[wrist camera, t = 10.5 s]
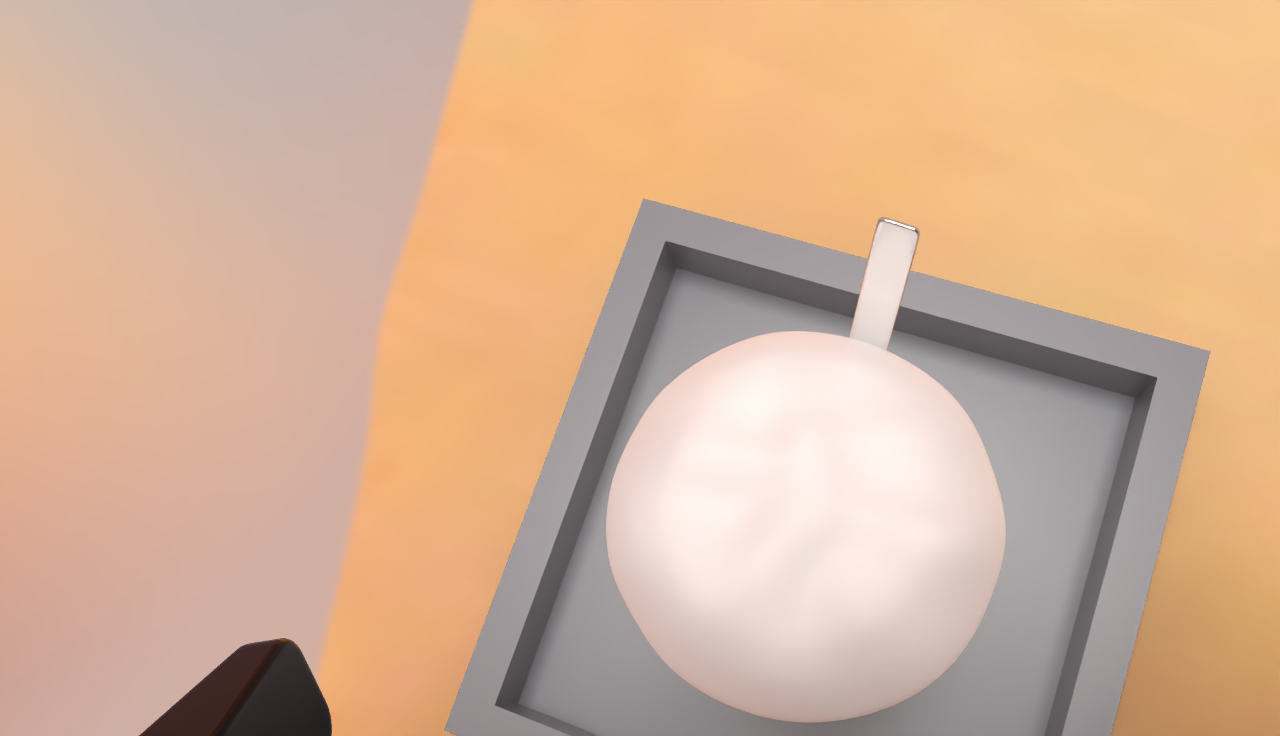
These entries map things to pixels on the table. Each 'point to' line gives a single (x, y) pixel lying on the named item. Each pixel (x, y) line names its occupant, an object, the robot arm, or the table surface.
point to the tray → (999, 409)
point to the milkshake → (809, 517)
